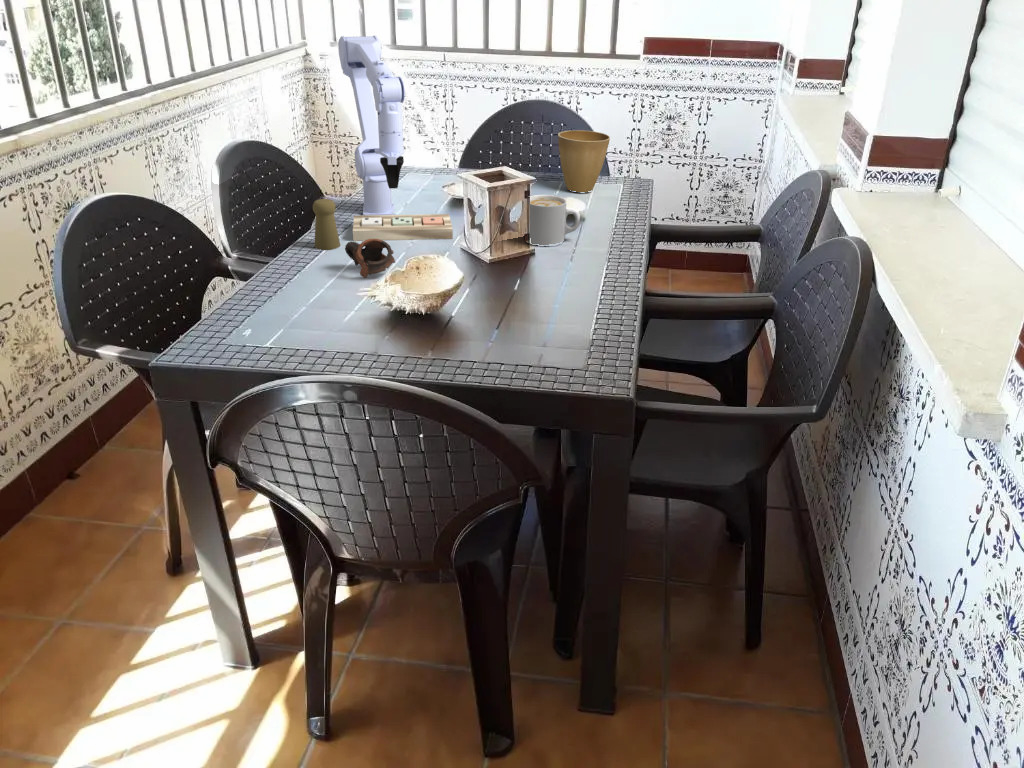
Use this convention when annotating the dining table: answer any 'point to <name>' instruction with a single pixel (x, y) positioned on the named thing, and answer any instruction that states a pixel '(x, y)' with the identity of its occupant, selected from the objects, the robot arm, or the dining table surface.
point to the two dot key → (371, 221)
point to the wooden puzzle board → (402, 228)
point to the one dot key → (432, 221)
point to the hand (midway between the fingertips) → (393, 187)
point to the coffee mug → (550, 219)
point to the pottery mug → (370, 256)
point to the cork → (325, 225)
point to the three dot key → (402, 221)
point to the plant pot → (582, 158)
